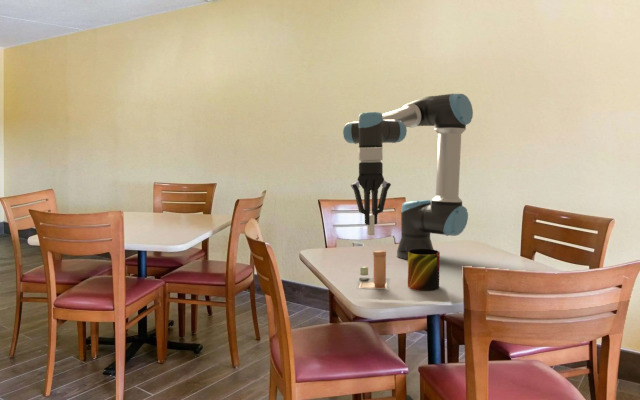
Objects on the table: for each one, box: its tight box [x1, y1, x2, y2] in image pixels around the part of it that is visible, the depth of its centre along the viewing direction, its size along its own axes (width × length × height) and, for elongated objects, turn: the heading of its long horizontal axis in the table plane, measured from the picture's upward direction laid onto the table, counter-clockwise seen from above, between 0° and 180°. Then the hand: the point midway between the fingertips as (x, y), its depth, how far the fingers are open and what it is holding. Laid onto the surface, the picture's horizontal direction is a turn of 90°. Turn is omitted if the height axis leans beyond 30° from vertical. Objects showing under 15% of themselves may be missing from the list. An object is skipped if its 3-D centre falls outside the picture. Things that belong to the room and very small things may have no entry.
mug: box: [407, 248, 441, 292], centre depth 154 cm, size 10×14×12 cm
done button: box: [359, 265, 369, 276], centre depth 162 cm, size 3×3×2 cm
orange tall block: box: [372, 250, 387, 288], centre depth 153 cm, size 4×4×11 cm
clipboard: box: [356, 277, 390, 291], centre depth 158 cm, size 10×14×1 cm
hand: (371, 234), depth 158 cm, fingers closed
